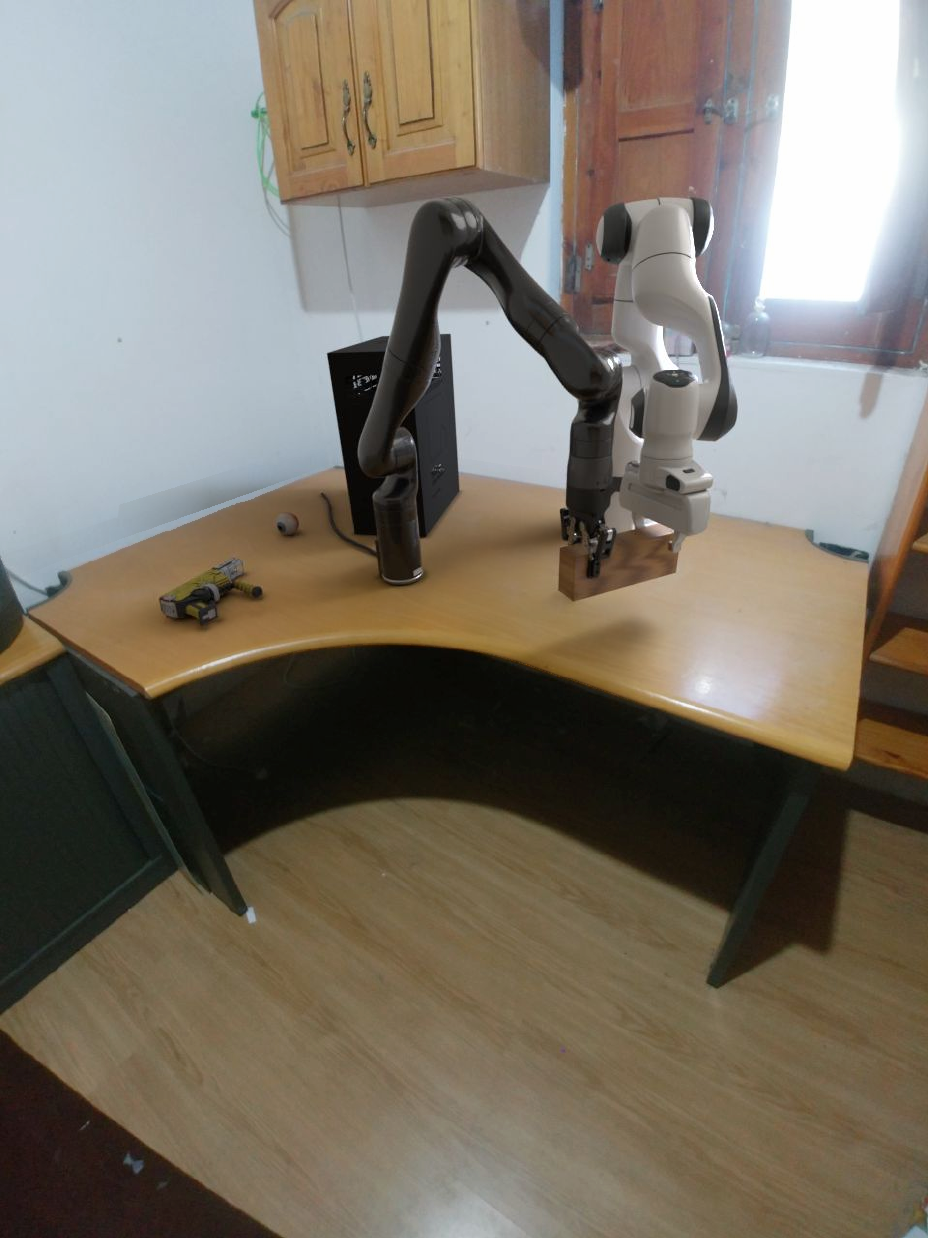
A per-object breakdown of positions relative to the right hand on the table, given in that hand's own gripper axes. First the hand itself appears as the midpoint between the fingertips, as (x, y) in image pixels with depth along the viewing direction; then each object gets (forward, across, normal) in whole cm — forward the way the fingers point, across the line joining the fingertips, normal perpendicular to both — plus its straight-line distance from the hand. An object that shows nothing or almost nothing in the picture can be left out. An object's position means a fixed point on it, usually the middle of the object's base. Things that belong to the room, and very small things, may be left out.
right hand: (656, 542), depth 113 cm
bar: (+6, 0, -8) cm, 10 cm away
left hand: (+2, 0, -16) cm, 16 cm away
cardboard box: (+13, -80, -21) cm, 83 cm away
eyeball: (+13, -80, -56) cm, 99 cm away
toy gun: (+14, -49, -76) cm, 91 cm away
